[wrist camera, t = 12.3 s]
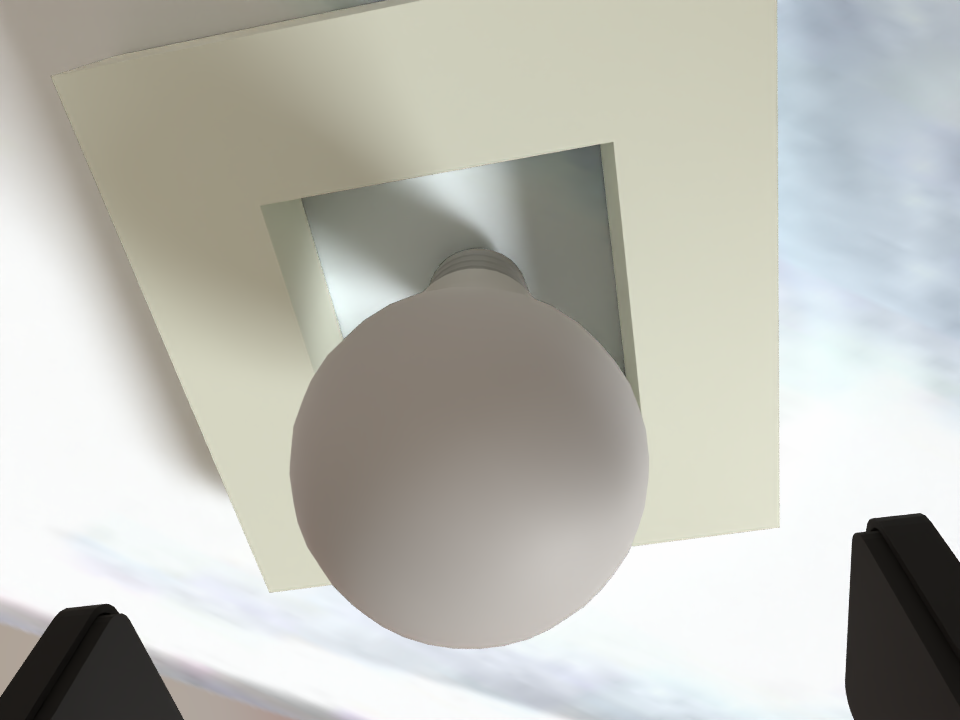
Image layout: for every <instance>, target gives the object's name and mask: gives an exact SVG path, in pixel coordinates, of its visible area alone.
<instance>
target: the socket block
mask: <svg viewBox="0 0 960 720" xmlns="http://www.w3.org/2000/svg"><path fill="white" fill-rule="evenodd" d="M51 78H52V81H53V83H54V86H55V88H56V90H57V93H58V95H59V97H60V100H61V102H62V104H63V107H64V109H65V112H66V114H67V116H68V119H69V121H70V123H71V126H72V128H73V130H74V133H75V135H76V137H77V140H78V142H79V145H80V147H81V149H82V152H83V154H84V156H85V159H86V161H87V163H88V166H89V168H90V170H91V173H92V175H93V178H94V180H95V182H96V185H97V187H98V189H99V192H100V194H101V196H102V199H103V201H104V204H105V206H106V208H107V211H108V213H109V215H110V218H111V220H112V222H113V225H114V227H115V229H116V232H117V234H118V237H119V239H120V241H121V244H122V246H123V248H124V251H125V253H126V255H127V258H128V260H129V262H130V265H131V267H132V270H133V272H134V274H135V277H136V279H137V281H138V284H139V286H140V288H141V291H142V293H143V295H144V298H145V300H146V303H147V305H148V307H149V310H150V312H151V314H152V317H153V319H154V321H155V324H156V326H157V329H158V331H159V333H160V336H161V338H162V340H163V343H164V345H165V347H166V350H167V352H168V354H169V357H170V359H171V362H172V364H173V366H174V369H175V371H176V373H177V376H178V378H179V380H180V383H181V385H182V387H183V390H184V392H185V395H186V397H187V399H188V402H189V404H190V406H191V409H192V411H193V413H194V416H195V418H196V421H197V423H198V425H199V428H200V430H201V432H202V435H203V437H204V439H205V442H206V444H207V446H208V449H209V451H210V454H211V456H212V458H213V461H214V463H215V465H216V468H217V470H218V472H219V475H220V477H221V479H222V482H223V484H224V487H225V489H226V491H227V494H228V496H229V498H230V501H231V503H232V505H233V508H234V510H235V513H236V515H237V517H238V520H239V522H240V524H241V527H242V529H243V531H244V534H245V536H246V538H247V541H248V543H249V546H250V548H251V550H252V553H253V555H254V557H255V560H256V562H257V564H258V567H259V569H260V571H261V574H262V576H263V579H264V581H265V583H266V586H267V588H268V590H269V593H272V592H280V591H287V590H295V589H303V588H311V587H319V586H326V585H332V584H331V582H330V581H329V579H328V578H327V576H326V575H325V573H324V572H323V570H322V569H321V568H320V566H319V565H318V563H317V561H316V560H315V558H314V557H313V555H312V554H311V552H310V551H309V549H308V548H307V545H306V543H305V540H304V538H303V535H302V533H301V530H300V528H299V525H298V523H297V518H296V513H295V508H294V503H293V497H292V490H291V483H290V476H289V472H290V455H291V445H292V435H293V426H294V423H295V420H296V417H297V415H298V412H299V409H300V406H301V403H302V401H303V398H304V395H305V393H306V391H307V388H308V386H309V383H310V381H311V379H312V378H313V376H314V375H315V373H316V372H317V370H318V369H319V367H320V366H321V364H322V363H323V361H324V360H325V358H326V357H327V355H328V354H329V353H330V352H331V351H332V350H333V349H334V348H335V347H336V346H337V345H339V344H340V343H341V342H342V341H343V336H342V333H341V330H340V326H339V323H338V320H337V316H336V313H335V310H334V307H333V303H332V300H331V297H330V293H329V290H328V287H327V283H326V280H325V277H324V273H323V270H322V267H321V263H320V260H319V257H318V253H317V250H316V247H315V243H314V240H313V237H312V233H311V230H310V227H309V223H308V220H307V217H306V213H305V210H304V207H303V203H302V200H301V198H305V197H311V196H316V195H322V194H327V193H333V192H338V191H344V190H350V189H355V188H361V187H366V186H372V185H377V184H383V183H388V182H394V181H399V180H405V179H410V178H416V177H421V176H427V175H432V174H438V173H443V172H449V171H455V170H460V169H466V168H471V167H477V166H482V165H488V164H493V163H499V162H504V161H510V160H515V159H521V158H526V157H532V156H537V155H543V154H548V153H554V152H560V151H565V150H571V149H576V148H582V147H587V146H593V145H598V144H600V148H601V157H602V166H603V175H604V184H605V193H606V202H607V211H608V220H609V229H610V238H611V247H612V256H613V265H614V274H615V283H616V292H617V301H618V310H619V319H620V328H621V337H622V346H623V355H624V364H625V373H626V379H627V380H628V382H629V383H630V385H631V388H632V390H633V393H634V396H635V398H636V401H637V404H638V407H639V409H640V412H641V415H642V418H643V422H644V425H645V428H646V434H647V443H648V452H649V478H648V487H647V494H646V502H645V508H644V511H643V515H642V518H641V521H640V524H639V527H638V530H637V532H636V535H635V538H634V540H633V543H632V545H631V546H639V545H647V544H654V543H662V542H670V541H678V540H686V539H693V538H701V537H709V536H717V535H725V534H733V533H740V532H748V531H756V530H764V529H772V528H779V527H780V520H779V315H778V110H777V0H385V1H380V2H375V3H370V4H365V5H360V6H356V7H351V8H346V9H341V10H336V11H331V12H326V13H322V14H317V15H312V16H307V17H302V18H297V19H292V20H287V21H283V22H278V23H273V24H268V25H263V26H258V27H253V28H248V29H244V30H239V31H234V32H229V33H224V34H219V35H214V36H210V37H205V38H200V39H195V40H190V41H185V42H180V43H175V44H171V45H166V46H161V47H156V48H151V49H146V50H141V51H136V52H132V53H127V54H122V55H117V56H113V57H110V58H107V59H104V60H101V61H97V62H94V63H91V64H88V65H85V66H81V67H78V68H75V69H72V70H69V71H65V72H62V73H59V74H56V75H53V76H51Z"/></svg>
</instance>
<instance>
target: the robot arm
mask: <svg viewBox="0 0 960 720" xmlns="http://www.w3.org/2000/svg"><path fill="white" fill-rule="evenodd" d="M845 689H846V695H847V700H848V704H849V707H850V711H851V713H852V716H853V718H854V720H960V562H959V561H958V559H957V558H956V556H955V555H954V554H953V552H952V551H951V549H950V548H949V546H948V545H947V544H946V542H945V541H944V539H943V538H942V537H941V535H940V534H939V532H938V531H937V530H936V528H935V527H934V525H933V524H932V523H931V521H930V520H929V519H928V518H927V517H926V516H925V515H923V514H921V513H917V514H908V515H899V516H890V517H881V518H873V519H870V520H869V521H868V523H867V528H866V532H860V533H854V535H853V539H852V552H851V573H850V593H849V613H848V634H847V654H846V674H845ZM0 720H184V719H183V717H182V715H181V713H180V712H179V710H178V708H177V706H176V704H175V702H174V701H173V699H172V697H171V695H170V693H169V691H168V690H167V688H166V686H165V684H164V682H163V680H162V679H161V677H160V675H159V673H158V671H157V669H156V668H155V666H154V664H153V662H152V660H151V658H150V656H149V655H148V653H147V651H146V649H145V647H144V645H143V644H142V642H141V640H140V638H139V636H138V634H137V633H136V631H135V629H134V627H133V625H132V623H131V622H130V620H129V619H128V617H127V616H126V615H124V614H119V612H118V611H117V610H116V609H115V607H113V606H111V605H110V604H100V605H91V606H82V607H73V608H66V609H64V610H62V611H60V612H59V613H58V614H57V615H56V617H55V618H54V619H53V620H52V622H51V623H50V625H49V626H48V628H47V629H46V631H45V632H44V634H43V635H42V637H41V638H40V640H39V641H38V642H37V644H36V646H35V647H34V648H33V650H32V651H31V653H30V654H29V656H28V657H27V659H26V660H25V662H24V663H23V665H22V666H21V667H20V669H19V670H18V672H17V673H16V675H15V677H14V678H13V679H12V681H11V682H10V684H9V685H8V687H7V688H6V690H5V691H4V692H3V694H2V695H1V697H0Z"/></svg>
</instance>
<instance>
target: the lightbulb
mask: <svg viewBox="0 0 960 720" xmlns="http://www.w3.org/2000/svg"><path fill="white" fill-rule="evenodd" d="M289 476H290V483H291V490H292V497H293V503H294V508H295V513H296V518H297V523H298V525H299V528H300V530H301V533H302V535H303V538H304V540H305V543H306V545H307V548H308V549H309V551H310V552H311V554H312V555H313V557H314V558H315V560H316V561H317V563H318V565H319V566H320V568H321V569H322V570H323V572H324V573H325V575H326V576H327V578H328V579H329V581H330V582H331V584H332V585H333V586H334V587H335V588H336V589H337V590H338V591H339V592H340V593H341V594H342V595H343V596H344V597H345V598H346V599H347V600H348V601H349V602H350V603H351V604H352V605H353V606H355V607H356V608H357V609H358V610H360V611H361V612H362V613H363V614H365V615H366V616H368V617H369V618H371V619H372V620H373V621H375V622H376V623H378V624H379V625H381V626H382V627H384V628H386V629H388V630H390V631H392V632H394V633H397V634H399V635H401V636H403V637H405V638H408V639H412V640H415V641H418V642H422V643H425V644H428V645H434V646H441V647H447V648H453V649H482V648H490V647H499V646H505V645H509V644H512V643H516V642H520V641H524V640H527V639H530V638H532V637H534V636H536V635H539V634H541V633H543V632H545V631H548V630H550V629H551V628H553V627H554V626H556V625H557V624H559V623H560V622H562V621H563V620H565V619H567V618H568V617H570V616H571V615H573V614H574V613H576V612H577V611H579V610H580V609H582V608H583V607H584V606H585V605H586V604H587V603H588V602H589V601H590V600H591V599H592V598H593V597H594V596H595V595H597V594H598V593H599V592H600V591H601V590H602V588H603V587H604V586H605V585H606V583H607V582H608V581H609V580H610V579H611V577H612V576H613V575H614V573H615V572H616V570H617V569H618V567H619V566H620V565H621V563H622V562H623V560H624V559H625V557H626V556H627V554H628V553H629V550H630V548H631V545H632V543H633V540H634V538H635V535H636V532H637V530H638V527H639V524H640V521H641V518H642V515H643V511H644V508H645V502H646V494H647V487H648V478H649V452H648V443H647V434H646V428H645V425H644V422H643V418H642V415H641V412H640V409H639V407H638V404H637V401H636V398H635V396H634V393H633V390H632V388H631V385H630V383H629V382H628V380H627V379H626V377H625V376H624V374H623V373H622V371H621V370H620V368H619V367H618V365H617V364H616V362H615V360H614V359H613V358H612V356H611V355H610V354H609V353H608V352H607V351H606V350H605V348H604V347H603V346H602V345H601V344H600V343H599V342H598V341H597V340H596V339H595V338H594V337H593V336H592V335H591V334H590V333H589V332H588V331H587V330H586V329H585V328H584V327H583V326H582V325H581V324H579V323H578V322H577V321H575V320H574V319H572V318H570V317H569V316H567V315H566V314H564V313H563V312H561V311H559V310H558V309H556V308H555V307H553V306H551V305H549V304H546V303H544V302H541V301H539V300H536V299H534V298H533V297H532V295H531V294H530V293H529V290H528V288H527V285H526V282H525V279H524V277H523V275H522V273H521V271H520V270H519V268H518V267H517V266H516V265H515V264H514V263H513V262H512V261H511V260H510V259H509V258H507V257H506V256H504V255H503V254H500V253H498V252H495V251H493V250H488V249H468V250H463V251H460V252H458V253H455V254H453V255H452V256H450V257H449V258H447V259H446V260H445V261H444V262H443V263H442V264H441V265H440V266H439V267H438V269H437V270H436V271H435V273H434V275H433V277H432V279H431V281H430V284H429V286H428V288H427V289H426V290H424V291H423V292H422V293H418V294H416V295H413V296H411V297H408V298H405V299H403V300H400V301H397V302H395V303H392V304H390V305H388V306H386V307H385V308H383V309H382V310H380V311H378V312H377V313H375V314H374V315H372V316H370V317H369V318H367V319H365V320H364V321H363V322H362V323H361V324H360V325H358V326H357V327H356V328H355V329H354V330H353V331H352V332H351V333H350V334H349V335H348V336H347V337H346V338H345V339H344V340H343V341H342V342H341V343H340V344H339V345H337V346H336V347H335V348H334V349H333V350H332V351H331V352H330V353H329V354H328V355H327V357H326V358H325V360H324V361H323V363H322V364H321V366H320V367H319V369H318V370H317V372H316V373H315V375H314V376H313V378H312V379H311V381H310V383H309V386H308V388H307V391H306V393H305V395H304V398H303V401H302V403H301V406H300V409H299V412H298V415H297V417H296V420H295V423H294V426H293V435H292V445H291V455H290V472H289Z"/></svg>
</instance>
